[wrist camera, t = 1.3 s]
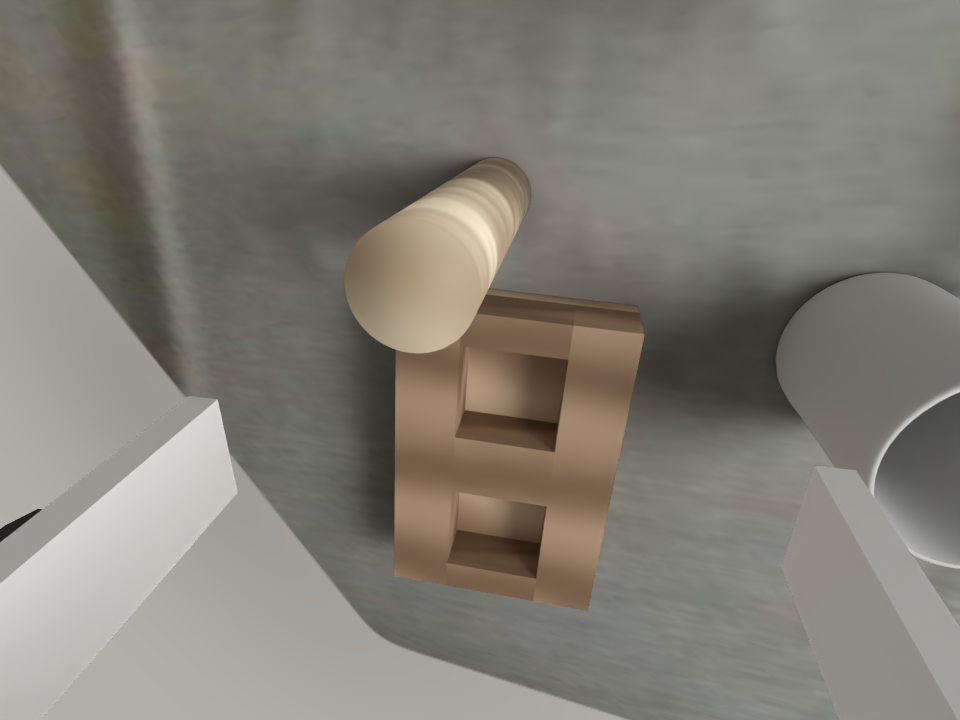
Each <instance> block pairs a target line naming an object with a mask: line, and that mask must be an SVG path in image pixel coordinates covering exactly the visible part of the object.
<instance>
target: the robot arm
mask: <svg viewBox="0 0 960 720" xmlns="http://www.w3.org/2000/svg"><path fill="white" fill-rule="evenodd" d="M236 494H237V487H236V483H235V478H234V474H233V469H232V464H231V460H230V455H229V450H228V446H227V441H226V436H225V432H224V427H223V423H222V418H221V413H220V409H219V404H218V400H217V399H208V398H199V397H190V396H188V397H187V398H185V399H184V400H183V401H182V402H180V403H179V404H178V405H176V406H175V407H174V408H172V409H171V410H170V411H169V412H167V413H166V414H165V415H163V416H162V417H161V418H160V419H158V420H157V421H156V422H155V423H153V424H152V425H151V426H149V427H148V428H147V429H145V430H144V431H143V432H142V433H140V434H139V435H138V436H136V437H135V438H134V439H133V440H131V441H130V442H129V443H127V444H126V445H125V446H124V447H122V448H121V449H120V450H118V451H117V452H116V453H115V454H113V455H112V456H111V457H109V458H108V459H107V460H106V461H104V462H103V463H102V464H100V465H99V466H98V467H97V468H95V469H94V470H93V471H91V472H90V473H89V474H87V475H86V476H85V477H84V478H82V479H81V480H80V481H78V482H77V483H76V484H75V485H73V486H72V487H71V488H69V489H68V490H67V491H66V492H64V493H63V494H62V495H60V496H59V497H58V498H57V499H55V500H54V501H53V502H51V503H50V504H49V505H48V506H46V507H45V508H44V509H37V510H35V511H33V512H31V513H29V514H27V515H25V516H23V517H21V518H19V519H17V520H15V521H13V522H11V523H9V524H7V525H5V526H4V527H2V528H1V529H0V720H41V719H42V717H43V716H44V715H45V714H46V713H47V712H48V711H49V709H50V708H51V707H52V706H53V705H54V704H55V702H56V701H57V700H58V699H59V698H60V697H61V696H62V694H63V693H64V692H65V691H66V690H67V689H68V687H69V686H70V685H71V684H72V683H73V682H74V681H75V679H76V678H77V677H78V676H79V675H80V674H81V672H82V671H83V670H84V669H85V668H86V667H87V665H88V664H89V663H90V662H91V661H92V660H93V659H94V657H95V656H96V655H97V654H98V653H99V652H100V651H101V649H102V648H103V647H104V646H105V645H106V644H107V643H108V641H109V640H110V639H111V638H112V637H113V636H114V634H115V633H116V632H117V631H118V630H119V629H120V628H121V626H122V625H123V624H124V623H125V622H126V620H127V619H128V618H129V617H130V616H131V615H132V614H133V613H134V611H135V610H136V609H137V608H138V607H139V606H140V604H141V603H142V602H143V601H144V600H145V599H146V598H147V596H148V595H149V594H150V593H151V592H152V591H153V589H154V588H155V587H156V586H157V585H158V584H159V582H160V581H161V580H162V579H163V578H164V577H165V575H166V574H167V573H168V572H169V571H170V570H171V569H172V568H173V566H174V565H175V564H176V563H177V562H178V561H179V560H180V558H181V557H182V556H183V555H184V554H185V553H186V551H187V550H188V549H189V548H190V547H191V545H192V544H193V543H194V542H195V541H196V540H197V538H199V536H200V535H201V534H202V533H203V532H204V531H205V529H206V528H207V527H208V526H209V525H210V524H211V522H212V521H213V520H214V519H215V518H216V517H217V516H218V514H219V513H220V512H221V511H222V510H223V509H224V508H225V506H226V505H227V504H228V503H229V502H230V501H231V499H232V498H233V497H234V496H235V495H236ZM781 568H782V571H783V574H784V576H785V579H786V582H787V584H788V587H789V590H790V592H791V595H792V597H793V600H794V603H795V605H796V608H797V611H798V613H799V616H800V619H801V621H802V624H803V627H804V629H805V632H806V634H807V637H808V640H809V642H810V645H811V648H812V650H813V653H814V656H815V658H816V661H817V664H818V666H819V669H820V672H821V674H822V677H823V679H824V682H825V685H826V687H827V690H828V693H829V695H830V698H831V701H832V703H833V706H834V709H835V711H836V714H837V717H838V719H839V720H960V627H959V625H958V624H957V622H956V621H955V619H954V618H953V616H952V615H951V613H950V612H949V610H948V609H947V607H946V605H945V604H944V602H943V601H942V599H941V598H940V596H939V595H938V593H937V592H936V590H935V589H934V587H933V586H932V584H931V583H930V581H929V580H928V578H927V577H926V575H925V574H924V572H923V571H922V569H921V568H920V566H919V565H918V563H917V562H916V560H915V559H914V557H913V556H912V554H911V553H910V551H909V550H908V548H907V547H906V545H905V544H904V542H903V541H902V539H901V538H900V536H899V535H898V533H897V532H896V530H895V529H894V527H893V526H892V524H891V522H890V521H889V519H888V518H887V516H886V515H885V513H884V512H883V510H882V509H881V507H880V506H879V504H878V503H877V501H876V500H875V498H874V497H873V495H872V494H871V492H870V491H869V489H868V488H867V486H866V485H865V483H864V482H863V480H862V479H861V477H860V476H859V474H858V473H857V471H856V470H849V469H840V468H831V467H822V466H814V469H813V472H812V475H811V478H810V481H809V484H808V487H807V490H806V493H805V496H804V499H803V502H802V505H801V508H800V511H799V514H798V517H797V520H796V523H795V526H794V529H793V532H792V535H791V538H790V541H789V544H788V547H787V551H786V554H785V557H784V560H783V563H782V566H781Z"/></svg>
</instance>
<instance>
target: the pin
mask: <svg viewBox="0 0 960 720" xmlns="http://www.w3.org/2000/svg"><path fill="white" fill-rule="evenodd" d="M530 201H531V187H530V183H529V180H528V178H527V176H526V174H525V173H524V171H523V170H522V169H521V168H520V167H519V166H518V165H517V164H515V163H514V162H512V161H510V160H508V159H504V158H499V157H493V158H487V159H484V160H482V161H480V162H478V163H476V164H475V165H473V166H471V167H470V168H468V169H467V170H465V171H463V172H462V173H460V174H459V175H457V176H455V177H454V178H452V179H451V180H449V181H447V182H446V183H444V184H443V185H441V186H439V187H438V188H436V189H435V190H433V191H431V192H430V193H428V194H427V195H425V196H424V197H422V198H420V199H419V200H417V201H416V202H414V203H412V204H411V205H409V206H408V207H406V208H404V209H403V210H401V211H400V212H398V213H396V214H395V215H393V216H392V217H390V218H388V219H387V220H385V221H384V222H382V223H380V224H379V225H377V226H376V227H374V228H372V229H371V230H369V231H368V232H367V233H366V234H364V235H363V236H362V237H361V238H360V239H359V240H358V241H357V243H356V244H355V246H354V247H353V249H352V250H351V252H350V254H349V257H348V260H347V263H346V267H345V273H344V286H345V293H346V297H347V301H348V304H349V306H350V309H351V311H352V313H353V315H354V316H355V318H356V319H357V321H358V322H359V324H360V325H361V326H362V327H363V328H364V329H365V330H366V331H367V332H368V333H369V334H370V335H371V336H372V337H373V338H375V339H376V340H377V341H379V342H381V343H382V344H384V345H386V346H388V347H390V348H393V349H396V350H399V351H402V352H408V353H429V352H434V351H437V350H440V349H443V348H445V347H447V346H449V345H451V344H452V343H454V342H455V341H457V340H458V339H459V338H460V337H461V336H462V335H463V334H464V333H465V332H466V330H467V329H468V328H469V326H470V324H471V323H472V321H473V319H474V317H475V315H476V313H477V311H478V309H479V307H480V305H481V303H482V301H483V299H484V297H485V295H486V293H487V291H488V289H489V287H490V285H491V283H492V281H493V279H494V277H495V275H496V273H497V271H498V269H499V267H500V265H501V263H502V261H503V259H504V257H505V255H506V253H507V251H508V249H509V247H510V245H511V243H512V241H513V239H514V237H515V235H516V233H517V231H518V229H519V227H520V225H521V223H522V221H523V219H524V217H525V215H526V213H527V210H528V208H529V205H530Z"/></svg>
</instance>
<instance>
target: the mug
mask: <svg viewBox="0 0 960 720" xmlns="http://www.w3.org/2000/svg"><path fill="white" fill-rule="evenodd" d="M776 370H777V376H778V380H779V383H780V386H781V388H782V390H783V392H784V394H785V395H786V397H787V399H788V400H789V402H790V403H791V405H792V406H793V407H794V409H795V410H796V411H797V413H798V414H799V415H800V417H801V418H802V419H803V421H804V422H805V424H806V425H807V427H808V428H809V430H810V431H811V433H812V434H813V436H814V437H815V439H816V440H817V441H818V443H819V444H820V446H821V447H822V449H823V450H824V452H825V453H826V455H827V456H828V458H829V459H830V461H831V462H832V464H833V465H834V467H835V468H840V469H849V470H856V471H857V473H858V474H859V476H860V477H861V479H862V480H863V482H864V483H865V485H866V486H867V488H868V489H869V491H870V492H871V494H872V495H873V497H874V498H875V500H876V501H877V503H878V504H879V506H880V507H881V509H882V510H883V512H884V513H885V515H886V516H887V518H888V519H889V521H890V522H891V524H892V526H893V527H894V529H895V530H896V532H897V533H898V535H899V536H900V538H901V539H902V541H903V542H904V544H905V545H906V547H907V548H908V550H909V551H910V553H911V554H912V556H914V557H916V558H919V559H921V560H924V561H927V562H929V563H933V564H937V565H941V566H945V567H951V568H958V569H960V299H959V298H957V297H956V296H954V295H952V294H951V293H949V292H947V291H945V290H944V289H942V288H940V287H938V286H936V285H934V284H933V283H931V282H928V281H926V280H923V279H920V278H918V277H915V276H910V275H906V274H898V273H871V274H864V275H859V276H855V277H851V278H848V279H846V280H843V281H840V282H838V283H835V284H833V285H831V286H829V287H827V288H825V289H824V290H822V291H821V292H819V293H817V294H816V295H815V296H813V297H812V298H811V299H809V300H808V301H807V302H806V303H805V304H804V305H803V306H802V307H801V308H800V309H799V310H798V311H797V312H796V313H795V314H794V316H793V317H792V318H791V319H790V321H789V322H788V324H787V326H786V327H785V329H784V331H783V333H782V336H781V338H780V341H779V344H778V348H777V354H776Z"/></svg>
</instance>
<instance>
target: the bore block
mask: <svg viewBox="0 0 960 720" xmlns="http://www.w3.org/2000/svg"><path fill="white" fill-rule="evenodd" d="M644 335H645V333H644V329H643V325H642V321H641V317H640V313H639V309H638V306H632V305H623V304H615V303H606V302H598V301H589V300H581V299H572V298H564V297H555V296H547V295H538V294H530V293H521V292H513V291H504V290H496V289H488V291H487V293H486V295H485V297H484V299H483V301H482V303H481V305H480V307H479V309H478V311H477V313H476V315H475V317H474V319H473V321H472V323H471V324H470V326H469V328H468V329H467V330H466V332H465V333H464V334H463V335H462V336H461V337H460V338H459V339H458V340H457V341H455V342H454V343H452V344H451V345H449V346H447V347H445V348H443V349H440V350H437V351H434V352H429V353H408V352H402V351H399V350H396V378H395V534H394V576H399V577H404V578H410V579H415V580H421V581H426V582H432V583H437V584H443V585H448V586H454V587H459V588H465V589H470V590H476V591H481V592H487V593H492V594H498V595H503V596H509V597H514V598H520V599H525V600H531V601H537V602H542V603H548V604H553V605H559V606H564V607H570V608H575V609H581V610H586V611H588V607H589V602H590V597H591V592H592V587H593V582H594V578H595V573H596V568H597V563H598V558H599V553H600V548H601V544H602V539H603V534H604V529H605V524H606V519H607V515H608V510H609V505H610V500H611V495H612V490H613V486H614V481H615V476H616V471H617V466H618V461H619V456H620V452H621V447H622V442H623V437H624V432H625V427H626V423H627V418H628V413H629V408H630V403H631V398H632V393H633V389H634V384H635V379H636V374H637V369H638V364H639V360H640V355H641V350H642V345H643V340H644Z"/></svg>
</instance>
